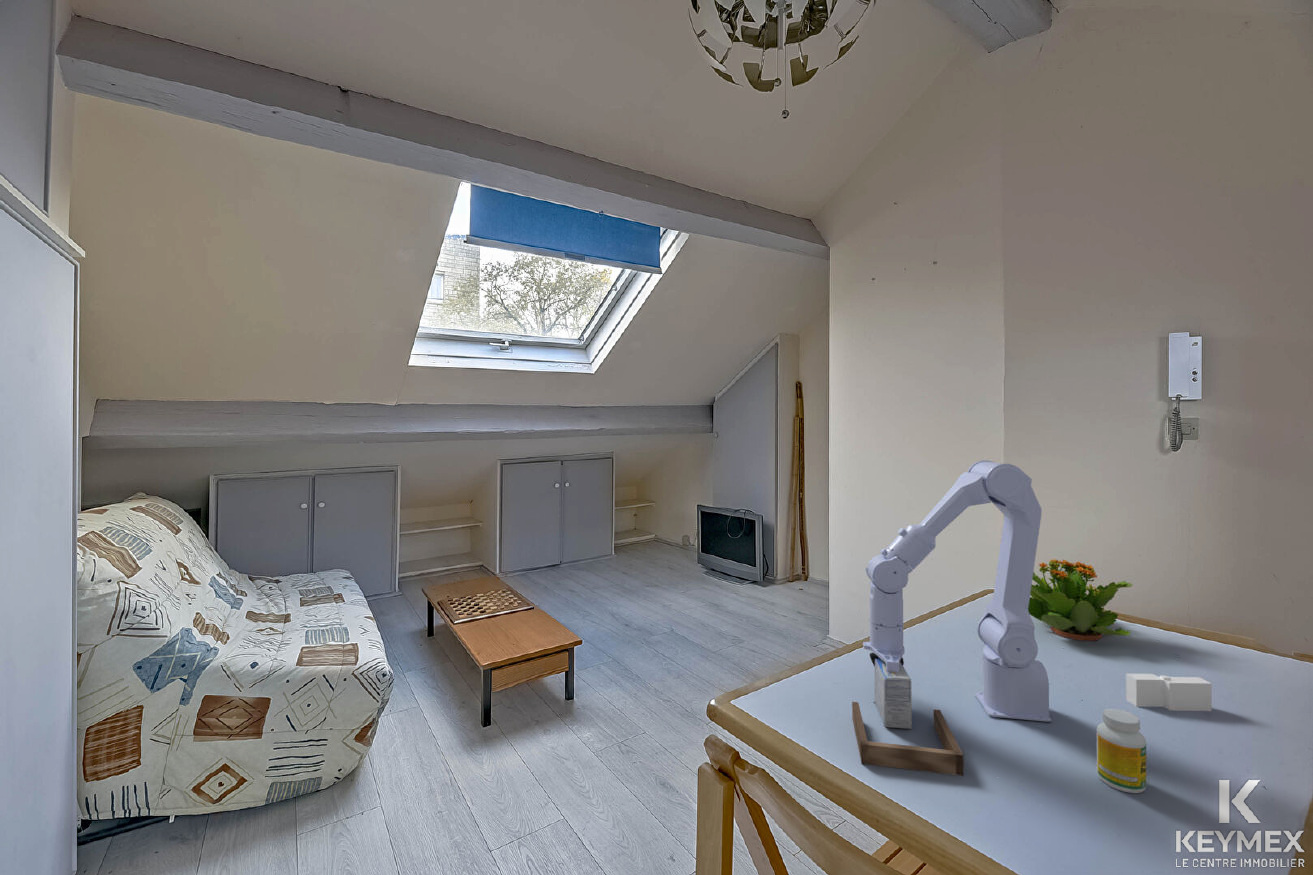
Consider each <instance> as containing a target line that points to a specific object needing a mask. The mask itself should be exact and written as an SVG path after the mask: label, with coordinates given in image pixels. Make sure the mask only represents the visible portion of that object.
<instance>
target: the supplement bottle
mask: <svg viewBox="0 0 1313 875" xmlns="http://www.w3.org/2000/svg"><path fill="white" fill-rule="evenodd" d="M1140 729H1141V721H1140V718H1139V717H1138V716H1137V715H1135V714H1133V713H1131V712H1128V711H1126V710H1122V709H1118V708H1106V709H1103V711H1102V722H1101V723H1099V724H1098V725H1097V727H1096V774H1097V776H1098V778H1099V779H1100V780H1101V781H1102V782H1103V783H1105V784H1106V785H1107V786H1109V787H1111V788H1112V789H1115V790H1118V791H1121V792H1124V793H1129V794H1141V793H1143V792H1145V791H1146V789H1147V741H1146V737H1145V736H1144V734H1143V733H1141V731H1140Z"/></svg>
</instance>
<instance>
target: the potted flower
mask: <svg viewBox="0 0 1313 875" xmlns="http://www.w3.org/2000/svg"><path fill="white" fill-rule="evenodd" d="M1038 566H1039V569H1038V571H1039V572H1041V573H1042V577H1039V576H1038V574H1036V573H1035V571H1033V578H1032V581H1034V582H1035V584H1032V585H1031V592H1030V599H1029V606H1028V611H1029V614H1030V616H1031V617H1033V618H1035V619H1036V620H1038V621H1041V622H1043V623H1044V624H1046V625H1048V626H1050V629H1051V631H1052V632H1054V634H1056V635H1058V636H1060V637H1063V638H1067V639H1071V640H1076V641H1084V642H1085V641H1087V642H1094V641H1098V640H1100V639H1101V638H1102V637H1103V635H1106V636H1130V635H1131V634H1130V633H1131V631H1129V630H1125V629H1123V627H1120V628H1116V629H1112V628H1107V627H1111V626H1112V625H1114V624H1115V622H1117V619H1118V617H1119V614H1118V613H1115V612H1114V611H1112V610H1105V607H1106V606H1107V605H1108V603H1109V602H1110V601H1111V600H1113V598H1114V597H1115V595H1116V593H1117V592H1118V590H1119V589H1121V588H1131V587H1133V584H1132V583H1131V582H1128V581H1126V580H1124V581H1123V580H1122V581H1117V583H1116V582H1115V581H1112V582H1109V584H1108V585H1107V584H1106V585H1105V586H1103V585H1102V584H1100V585H1098V586H1097V587H1096V586H1093V585H1092V584H1091V583H1090V584H1089V585H1088V582H1094V581H1095V578H1098V574H1096V571H1095V569H1094V567H1093V566H1092V565H1089V564H1085V563H1082V562H1081V561H1076V562H1075V563H1073V562H1069V561H1068V560H1066V559H1064V558H1063V559H1062V561H1061V560H1058V559H1056V558H1053V559H1050V560H1049V562H1048V564H1047V563H1045V562H1041V563H1039V564H1038ZM1059 568H1060V569H1059ZM1063 569H1064V570H1063ZM1046 572H1049V574H1050V577H1051V578H1050V577H1048V580H1050V582H1049V583H1048V582H1047V580H1046V575H1045V574H1046ZM1051 584H1052V586H1050V585H1051ZM1052 587H1053V588H1052ZM1087 591H1088V594H1087ZM1104 610H1105V611H1104Z"/></svg>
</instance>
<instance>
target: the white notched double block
mask: <svg viewBox="0 0 1313 875" xmlns="http://www.w3.org/2000/svg"><path fill="white" fill-rule="evenodd" d="M1212 686H1213V685H1212V683H1211V682H1210V681H1208V680H1205V679H1204V678H1202V677H1199V676H1198V677H1197V676H1196V677H1195V676H1188V677H1187V676H1168V675H1159V676H1158V675H1156V674H1154V673H1125V689H1126V690H1125V697H1126V698H1125V700H1126V701H1127V702H1129V703H1130V704H1132V705H1133V706H1135V707H1137V708H1138V707H1140V708H1141V707H1145V708H1146V707H1147V708H1150V707H1151V708H1164V709H1166V710H1168V711H1180V712H1181V711H1182V712H1183V711H1184V712H1185V711H1187V712H1188V711H1190V712H1192V711H1193V712H1212V709H1213V708H1212V707H1213V706H1212V704H1213V702H1212V699H1213V698H1212V694H1213V693H1212Z"/></svg>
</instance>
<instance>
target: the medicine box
mask: <svg viewBox="0 0 1313 875" xmlns="http://www.w3.org/2000/svg"><path fill="white" fill-rule="evenodd" d="M912 695H913V694H912V679H911V677H910V676H909V674H908V672H907V670H906V669H905V667H904V665H902V664H901V662H899V672H892V671H891V672H890V671H887V670H886V663H885V662H884V661H883V660H882V659H881V658H876V659H875V667H874V704H875V706H876V709H877V711H878V713H879V715H880V718H881V720H882V722H883V724H884V727H885V728H892V729H908V730H911V729H912V727H913V723H912V722H913V719H912V717H913V716H912V714H913V713H912V708H913V706H912Z"/></svg>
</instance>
